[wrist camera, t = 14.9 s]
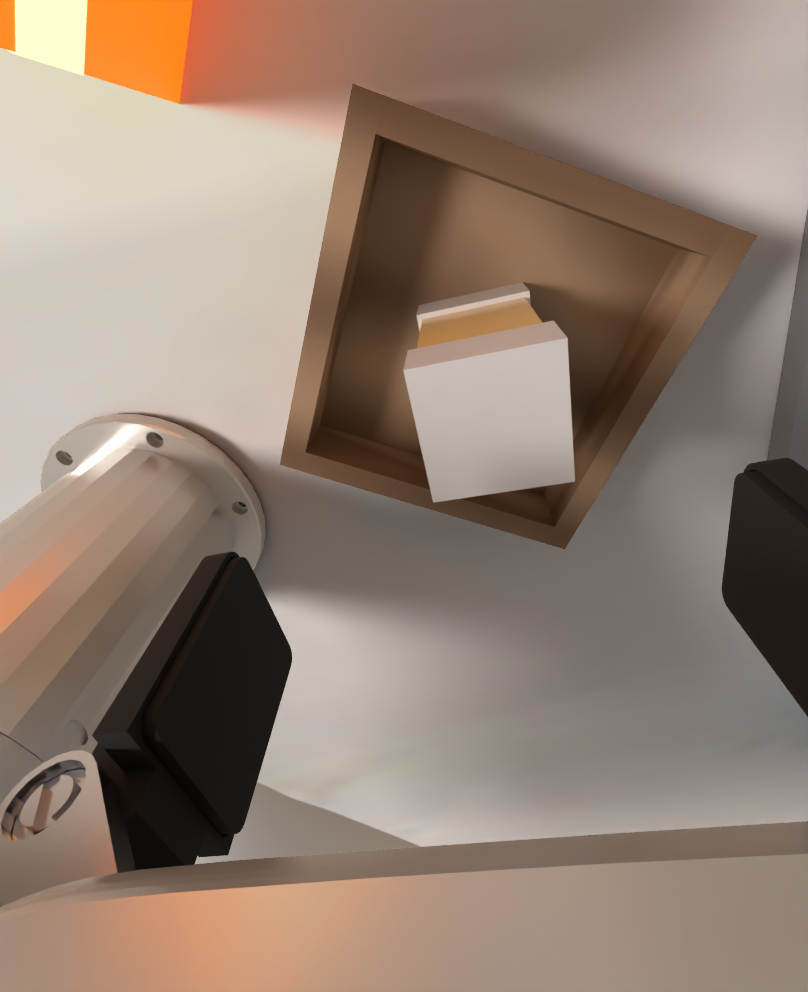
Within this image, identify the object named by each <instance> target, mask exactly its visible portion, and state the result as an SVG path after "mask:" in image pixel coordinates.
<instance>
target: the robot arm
mask: <svg viewBox="0 0 808 992" xmlns="http://www.w3.org/2000/svg"><path fill="white" fill-rule="evenodd" d="M41 491H42V492H41V493H40V494H39V495H37V496H36V497H35V498H33V499H32V500H31V501H29V502H28V503H27V504H25V505H24V506H23V507H21V508H20V509H19V510H17V511H16V512H15V513H14V514H12V515H11V516H10V517H8V518H7V519H6V520H4V521H3V522H2V523H0V992H808V821H806V822H791V823H775V824H759V825H743V826H727V827H712V828H696V829H680V830H664V831H649V832H633V833H618V834H603V835H588V836H573V837H559V838H544V839H529V840H514V841H500V842H486V843H471V844H457V845H442V846H428V847H413V848H400V849H386V850H372V851H359V852H345V853H332V854H319V855H305V856H291V857H278V858H264V859H253V860H239V861H227V862H216V863H207V864H196V865H194V864H195V861H196V858H197V855H198V856H199V857H207V856H220V855H221V856H222V855H228V853H229V850H230V847H231V844H232V840H233V837H234V834H237V833H238V832H240V831H241V829H242V828H243V825H244V823H245V820H246V816H247V813H248V810H249V807H250V803H251V799H252V796H253V793H254V790H255V786H256V783H257V779H258V776H259V773H260V769H261V766H262V762H263V759H264V756H265V752H266V749H267V745H268V742H269V739H270V735H271V732H272V728H273V725H274V722H275V718H276V715H277V711H278V708H279V705H280V701H281V698H282V694H283V691H284V688H285V684H286V681H287V677H288V674H289V671H290V667H291V663H292V652H291V648H290V645H289V643H288V641H287V639H286V637H285V635H284V633H283V631H282V629H281V627H280V625H279V623H278V621H277V619H276V617H275V615H274V613H273V611H272V609H271V606H270V604H269V602H268V600H267V598H266V596H265V594H264V592H263V590H262V588H261V586H260V584H259V582H258V580H257V578H256V576H255V574H254V572H253V570H254V568H255V567H256V565H257V563H258V560H259V558H260V556H261V554H262V552H263V548H264V543H265V538H266V529H265V518H264V514H263V510H262V507H261V503H260V501H259V499H258V497H257V495H256V493H255V491H254V489H253V487H252V485H251V483H250V482H249V481H248V479H247V478H246V477H245V475H244V474H243V472H242V471H241V470H240V468H239V467H238V466H237V465H236V464H235V463H234V462H233V461H232V460H231V459H230V458H229V457H228V456H227V455H226V454H225V453H224V452H223V451H221V450H220V449H219V448H217V447H216V446H214V445H213V444H212V443H210V442H209V441H208V440H206V439H205V438H203V437H202V436H200V435H198V434H196V433H194V432H192V431H190V430H188V429H186V428H184V427H182V426H180V425H177V424H175V423H172V422H169V421H166V420H163V419H160V418H156V417H150V416H144V415H138V414H112V415H107V416H103V417H98V418H94V419H91V420H89V421H87V422H85V423H83V424H81V425H79V426H77V427H75V428H74V429H73V430H71V431H70V432H68V433H67V434H65V435H64V436H62V437H61V438H60V439H59V440H58V441H57V442H56V443H55V444H54V445H53V446H52V447H51V449H50V450H49V452H48V455H47V457H46V459H45V461H44V464H43V467H42V474H41ZM722 594H723V598H724V601H725V604H726V606H727V607H728V609H729V610H730V612H731V613H732V614H733V616H734V617H735V618H736V620H737V621H738V622H739V624H740V625H741V626H742V628H743V629H744V631H745V632H746V633H747V635H748V636H749V637H750V639H751V640H752V641H753V643H754V644H755V646H756V647H757V648H758V650H759V651H760V652H761V654H762V655H763V656H764V658H765V659H766V660H767V662H768V663H769V665H770V666H771V667H772V669H773V670H774V671H775V673H776V674H777V675H778V677H779V678H780V679H781V681H782V682H783V684H784V685H785V686H786V688H787V689H788V690H789V692H790V693H791V694H792V696H793V697H794V698H795V700H796V701H797V703H798V704H799V705H800V707H801V708H802V709H803V711H804V712H805V713H806V715H807V716H808V470H807V469H805V468H804V467H802V466H801V465H799V464H798V463H797V462H795V461H794V460H792V459H790V458H780V459H774V460H768V461H762V462H757V463H751V464H749V465H747V467H746V468H745V470H744V473H740V474H738V475H737V476H736V478H735V482H734V489H733V498H732V506H731V515H730V523H729V531H728V540H727V548H726V557H725V565H724V574H723V582H722Z"/></svg>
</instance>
